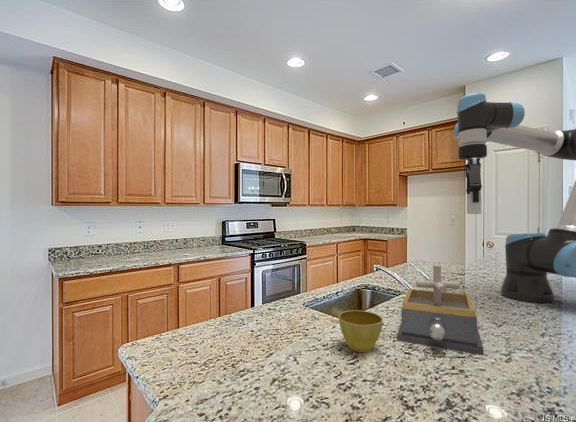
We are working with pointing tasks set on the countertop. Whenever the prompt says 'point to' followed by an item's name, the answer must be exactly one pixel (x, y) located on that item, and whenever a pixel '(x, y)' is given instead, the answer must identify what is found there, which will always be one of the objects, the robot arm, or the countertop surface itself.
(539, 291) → the robot arm
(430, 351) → the countertop surface
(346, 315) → the flower pot
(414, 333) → the grey gold-rimmed box
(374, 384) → the countertop surface
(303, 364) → the countertop surface
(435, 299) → the pipe connector
